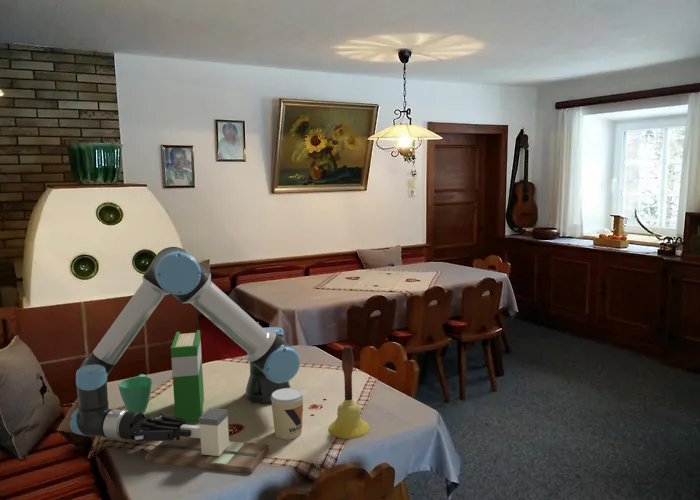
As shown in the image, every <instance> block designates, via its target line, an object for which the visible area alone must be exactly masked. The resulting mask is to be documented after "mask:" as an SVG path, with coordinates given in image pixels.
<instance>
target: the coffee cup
mask: <svg viewBox="0 0 700 500" xmlns="http://www.w3.org/2000/svg"><path fill="white" fill-rule="evenodd" d="M271 401H272V403H271V410H272V418H273V419H272V420H273V427H274V434H275V436H276V438H277V439H281V440H293V439H297V438H299V437H300V436H301V435H302V433H303V416H304V415H303V412H304V393H303V391H302V390H300V389H299V388H294V387H290V388H283V389H279V390H276V391H274V392H273V393H272V395H271Z"/></svg>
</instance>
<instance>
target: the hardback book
mask: <svg viewBox="0 0 700 500" xmlns="http://www.w3.org/2000/svg"><path fill="white" fill-rule="evenodd" d="M170 357H171V369H172V370H171V371H172V373H171V374H172V384H173V385H172V386H173V389H172V390H173V402H174V403H173V404H174V417H175V418H179V419H183V420H185V421H186V425H188V424H195V423H199V418H200V417H201V416H202V415H203V409H204V402H205V393H204V392H205V391H204V378H203V377H204V375H203V374H204V373H203V357H202V342H201V330H200V329H197V330H196V332H188V333H180V331H176V332H175V336H174V338H173V341H172V344H171V346H170Z"/></svg>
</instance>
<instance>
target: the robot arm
mask: <svg viewBox="0 0 700 500" xmlns="http://www.w3.org/2000/svg"><path fill="white" fill-rule="evenodd" d="M211 275H212V273H211V272H209V270H207V269H206V268H205V267H204V266H203V265H202V264H201V263H200V262H198V260H197V259H196V258H195V257H194V256H193V255H191V254H190V253H189V252H188V251H186V250H185V249H183V248H181V247H177V246H169V247H165V248H163V249H162V250H160V251H159V252H158V253H157V254H156V255H155V256H154V258H153V259H152V262H151V263H150V265H149V267H148V268H147V270H146V271H145V273H144V274H143V275H142V283H141V284H140V286H139V287H138V288H137V290H136V291H135V292H134V294H133V295H132V296H131V298H130V299H129V301H128V302H127V303H126V305H125V306H124V307H123V309H122V311H120V313H119V315H118V316H117V317H116V319H115V320H114V321H113V323H112V324H111V325H110V327H109V328H108V330H107V332H105V334H104V335H103V337H102V338H101V340H100V341H99V342H98V344H97V345H96V346H95V348H94V349H93V351H92V352H91V354H90V355H89V356H88V357H87V358H85V359H84V360H83V362H81V365H80V367H79V368H78V369H77V370H76V373H75V385H76V393H77V400H78V401H77V402H78V403H77V404H78V408H76V409H75V410H74V411H73V412H72V414H71V416H70V418H71V420H70V421H69V427H70V430H71V431H72V432H73V433H74V434H75V435H80V436H85V437H97V438H98V437H100V438H111V439H116V440H126V441H134V442H135V443H143V442H162V441H172V440H174V437H175V438H176V440H180V436H182V437H192V438H201V437H200V425H193V424H186V421H185V420H183V419H179V418H175V416H170V415H167V414H165V413H163V412H162V413H159V415H158V416H157V417H154V416H148V417H147V416H146V415H144V414H145V413H141V412H137V411H128V410H127V409H126V410H124V409H113V408H112V409H111V408H109V395H108V376H109V374H110V373H111V371H112V370H113V369H114V367H115V366H116V364H118V361H119V360H120V358H121V357H122V356H123V355H124V353H125V352H126V350H127V349H128V347H129V346H130V345H131V343H133V340H134V339H135V337H136V336H137V335H138V333H139V332H140V331H141V329H142V327H143V326H144V325H145V323H146V322H147V321H148V320H149V318H150V317H151V315H152V314H153V312H154V311H155V310H156V308H158V305H159V304H160V303H161V301H162V300H164V299H163V298H164V297H165V296H168V295H170V294H171V295H172V296H173V297H174V298H175V299H177V301H179V302H180V303H181V304H191V305H192V306H193V307H194V308H195V309H197V310H198V311H199V312H200V313H201V314H202V315H203V316H204V317H206V318H207V319H208V320H210V321H209V322H211V323H213V324H214V326H216V327H217V328H219V329H220V330H221V331H222V332H223V333H224V334H226V336H228V338H230V339H231V340H232V341H234V342H235V344H237V345H238V346H239V347H240V348H242V350H244V351H245V352H246V353H247V360H248V361H249V377H248V381H247V384H246V388H245V398H246V399H247V400H248V401H250V402H253V403H256V404H272V401H271V395H272V393H273V392H274V391H276V390H279V389H283V388H291V385H290V382H289V381H291V380H292V379H293V378H294V377H295V376H296V375H297V373H298V372H299V370H300V366H301V358H300V355H299V354H298V352H297V350H296V348H293V346H291V345H290V344H288V343H287V342H286V341H285V339H284V336H285V333H284V329H283V328H281V327H278V326H277V327H275V326H273V327H272V326H271V327H263V326H261V325H260V324H259V323H258V322H257V321H255V319H254V318H252V317H251V316H250V315H249V314H248V313H247V312H246V311H245V310H244V309H242V307H240V306H239V305H238V304H237V303H236V302H235V301H234V300H232V299H231V298H230V297H229V296H228V295H227V294H226V293H225V292H223V290H221V288H219V287H218V286H217V285H216V284H215V283H214V282H212V276H211Z"/></svg>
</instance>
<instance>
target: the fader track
mask: <svg viewBox="0 0 700 500" xmlns="http://www.w3.org/2000/svg"><path fill="white" fill-rule="evenodd" d="M269 451H270V444H265V443H256V442H255V443H254V442H244V441H236V440H235V441H233V440H229V446H228V447H227V448H226V449H225V450H224V451H223V452H222V453H221V455H220V456H213V455H204V454H202V453H201V438H192V437H182V436H180V440H176V438H175V437H174V440H172V441H160V443H158V444H157V445H156V446H155V447H154V448H152V449H151V451H149V452H148V453H147V454H146V455H145V456H144V462H145V463H153V464H154V463H155V464H163V465H170V466H171V465H172V466H180V467H181V466H182V467H191V468H200V469H208V470H215V471H217V470H218V471H226V472H228V471H229V472H237V473H246V474H253V472H254V471H255V470H256V468H257V467H258V466H259V464H260V463H261V462H262V461H263V459H264V458H265V456H266V455H267V454H268V452H269Z"/></svg>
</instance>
